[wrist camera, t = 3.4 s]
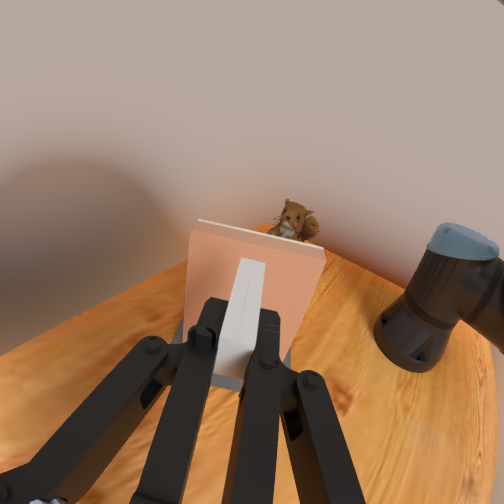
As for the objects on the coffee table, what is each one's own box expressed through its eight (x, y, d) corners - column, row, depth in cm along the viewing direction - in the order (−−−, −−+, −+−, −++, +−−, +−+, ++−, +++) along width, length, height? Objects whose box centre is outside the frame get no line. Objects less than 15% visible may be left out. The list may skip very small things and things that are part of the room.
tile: (274, 378, 32) (326, 260, 23) (182, 357, 32) (190, 229, 23) (275, 363, 34) (322, 247, 25) (187, 343, 34) (198, 218, 25)
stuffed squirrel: (247, 255, 58) (260, 197, 51) (281, 238, 68) (294, 189, 62) (286, 278, 53) (306, 217, 47) (315, 255, 64) (332, 205, 57)
